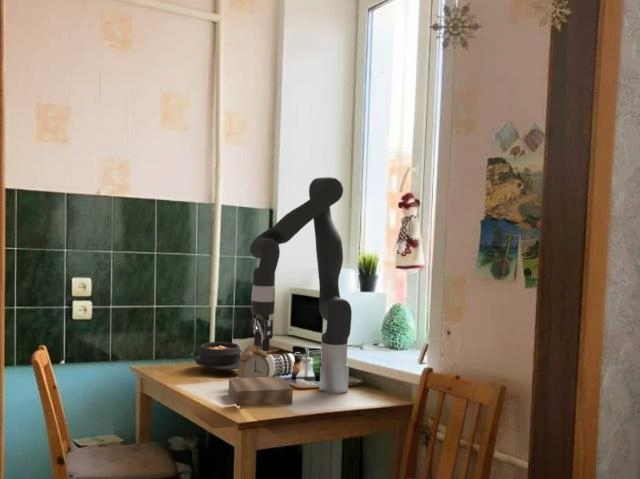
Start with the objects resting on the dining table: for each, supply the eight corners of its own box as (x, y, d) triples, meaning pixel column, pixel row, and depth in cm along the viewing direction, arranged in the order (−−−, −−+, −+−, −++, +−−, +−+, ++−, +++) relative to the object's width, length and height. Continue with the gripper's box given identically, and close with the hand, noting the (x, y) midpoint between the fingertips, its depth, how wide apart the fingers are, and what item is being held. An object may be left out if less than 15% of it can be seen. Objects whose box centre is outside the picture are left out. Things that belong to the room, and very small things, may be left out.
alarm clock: (242, 389, 235) (243, 347, 234) (235, 386, 239) (236, 344, 238) (270, 385, 242) (271, 344, 241) (262, 382, 246) (264, 341, 245)
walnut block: (280, 393, 234) (281, 376, 233) (292, 407, 218) (292, 389, 218) (228, 395, 229) (229, 378, 228) (236, 410, 213) (237, 391, 213)
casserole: (257, 370, 264) (257, 348, 263) (215, 376, 252) (216, 354, 251) (222, 357, 283) (223, 337, 282) (182, 363, 271) (183, 342, 270)
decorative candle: (263, 357, 259) (322, 352, 270) (267, 381, 255) (327, 375, 267) (271, 349, 252) (331, 345, 263) (275, 374, 248) (336, 368, 259)
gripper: (281, 302, 217) (279, 352, 218) (267, 295, 230) (265, 343, 231) (258, 302, 214) (257, 353, 215) (245, 296, 227) (244, 344, 228)
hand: (261, 348), depth 223 cm, fingers open, 8 cm apart
